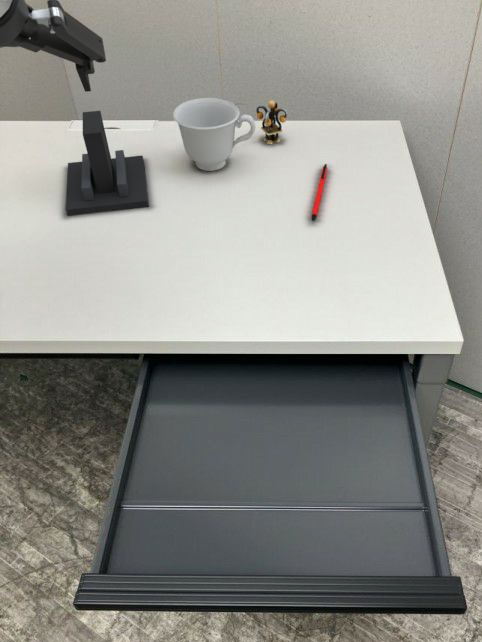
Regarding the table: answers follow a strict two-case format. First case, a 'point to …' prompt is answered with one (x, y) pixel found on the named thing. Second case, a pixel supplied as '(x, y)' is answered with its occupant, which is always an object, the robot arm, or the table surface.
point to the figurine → (271, 121)
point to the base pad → (126, 193)
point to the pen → (319, 193)
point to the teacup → (210, 130)
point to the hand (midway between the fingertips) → (32, 85)
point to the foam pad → (98, 151)
